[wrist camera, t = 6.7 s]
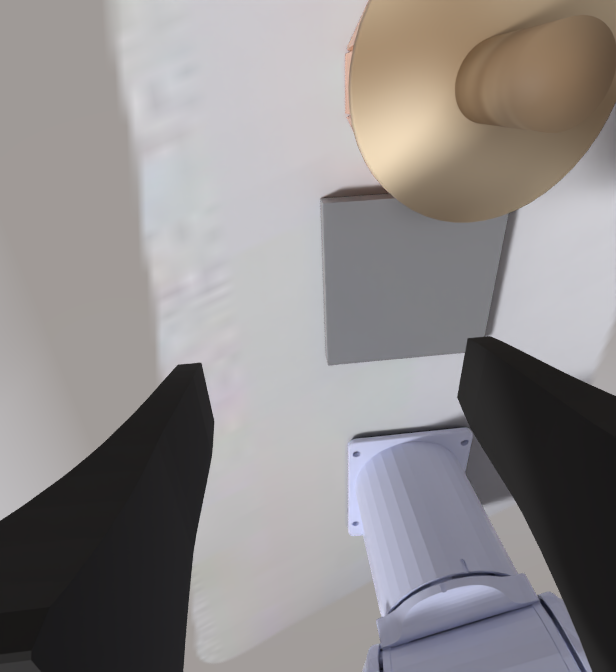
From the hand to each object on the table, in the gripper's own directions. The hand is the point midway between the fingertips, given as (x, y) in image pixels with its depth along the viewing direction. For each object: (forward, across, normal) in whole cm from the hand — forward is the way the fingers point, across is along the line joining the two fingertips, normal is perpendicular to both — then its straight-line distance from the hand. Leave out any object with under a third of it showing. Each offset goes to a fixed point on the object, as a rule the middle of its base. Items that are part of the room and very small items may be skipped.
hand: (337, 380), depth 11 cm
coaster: (+10, -5, +2) cm, 11 cm away
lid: (+7, -6, -7) cm, 11 cm away
